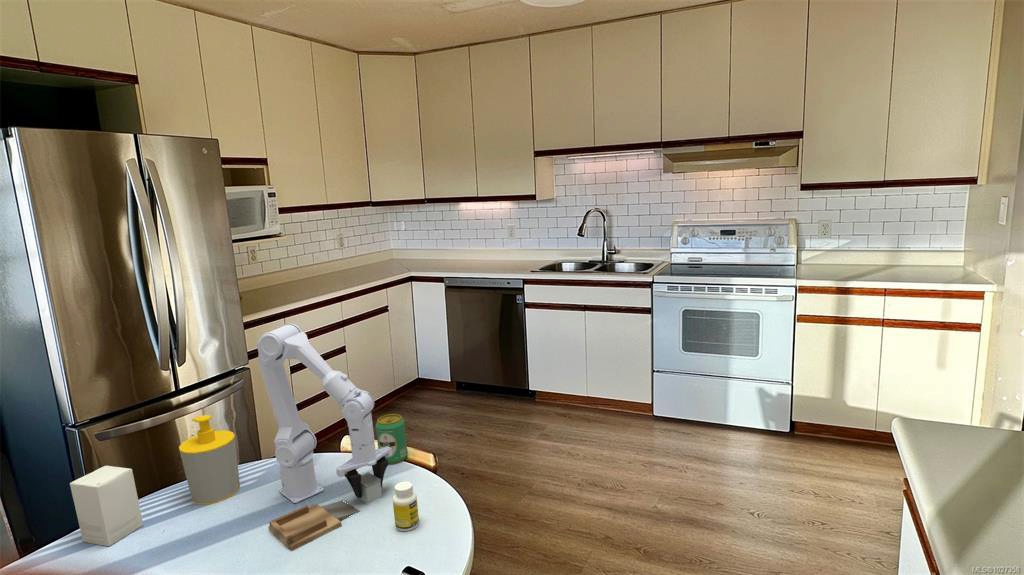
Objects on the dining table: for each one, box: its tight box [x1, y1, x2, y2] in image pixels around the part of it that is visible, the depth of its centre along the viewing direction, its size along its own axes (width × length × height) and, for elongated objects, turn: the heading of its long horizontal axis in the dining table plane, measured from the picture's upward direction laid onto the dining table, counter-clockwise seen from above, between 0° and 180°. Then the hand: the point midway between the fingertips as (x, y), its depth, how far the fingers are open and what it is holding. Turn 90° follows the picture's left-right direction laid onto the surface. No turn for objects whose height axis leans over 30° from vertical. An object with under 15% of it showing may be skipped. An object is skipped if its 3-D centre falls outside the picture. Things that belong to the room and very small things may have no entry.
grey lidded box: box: [359, 471, 383, 505], centre depth 145 cm, size 6×4×5 cm
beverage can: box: [375, 413, 408, 465], centre depth 165 cm, size 8×8×12 cm
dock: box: [268, 499, 361, 552], centre depth 136 cm, size 12×18×3 cm, turn 135°
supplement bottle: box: [392, 481, 420, 532], centre depth 132 cm, size 5×5×10 cm
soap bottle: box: [178, 414, 241, 506], centre depth 151 cm, size 13×13×21 cm
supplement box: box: [69, 465, 144, 547], centre depth 136 cm, size 9×9×15 cm
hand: (368, 491), depth 145 cm, fingers open, 5 cm apart
